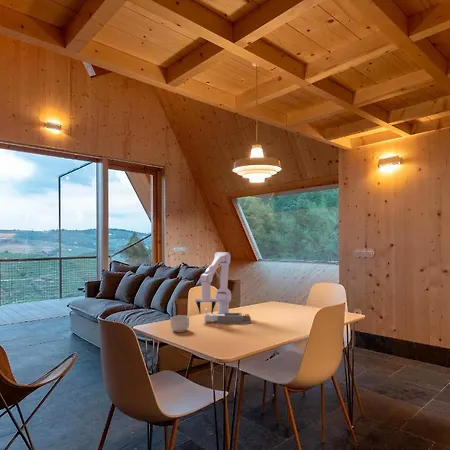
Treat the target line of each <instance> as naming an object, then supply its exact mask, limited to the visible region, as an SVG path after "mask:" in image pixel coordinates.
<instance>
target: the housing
mask: <svg viewBox="0 0 450 450" xmlns="http://www.w3.org/2000/svg"><path fill="white" fill-rule="evenodd" d="M216 314H225V316H218V321H213V322H214V325H241V324H242V325H244V324H245V325H248V324H249V325H252V321H251V319H252V317H251V316H250V315H249V317H243V313H242V312H229V313H218V312H216Z"/></svg>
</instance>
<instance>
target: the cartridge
mask: <svg viewBox="0 0 450 450" xmlns="http://www.w3.org/2000/svg"><path fill="white" fill-rule="evenodd" d="M218 316H225V314H217V313H213V314H211V313H208V308H207V307H205V308H204V315H203V317H204V322H214V321H218Z"/></svg>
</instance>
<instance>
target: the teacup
mask: <svg viewBox="0 0 450 450" xmlns="http://www.w3.org/2000/svg"><path fill="white" fill-rule="evenodd" d="M169 321H170V327H171V330H172V331H174V332H175V333H183V332H185V331H187V330H188V328H189V326H190V316H188V315H180V314H178V315H174V316H172V317H170V320H169Z"/></svg>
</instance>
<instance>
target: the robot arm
mask: <svg viewBox="0 0 450 450" xmlns="http://www.w3.org/2000/svg"><path fill="white" fill-rule="evenodd" d="M213 258H214V259H213V261H212V263H211V265H209V266H208V267H207V268H206V270H205V271H204V273H202V274H201V275H200V276H199V277H200V278H199V281H200V285H201V298H194V303H196V306H197V308H198V313H199V315H201V314H202V313H201V312H202V311H201V303H211V313H210V314H214V309H215V306H216V303H218V304H217V305H218V307H217V309H218V312H217V313H230V312H229V309H230V308H229V305H230V303H231V300H232V291H231V290H230V289H229V288H228V287H229V286H228V281H229V269H230V267H229V265H231V254H230V252H228V251H227V252H224V251H223V252H222V251H216V252H215V253H214V257H213ZM219 265H221V266H220V267H221V269H220V270H221V271H220V284H219V285H220V286H219V288H218V289H217V290H216V294H215V298H211V297H212V296H211V290H212V289H211V283H212V282H213V278H214V275H215V273H216V272H217V267H218V266H219Z"/></svg>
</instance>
